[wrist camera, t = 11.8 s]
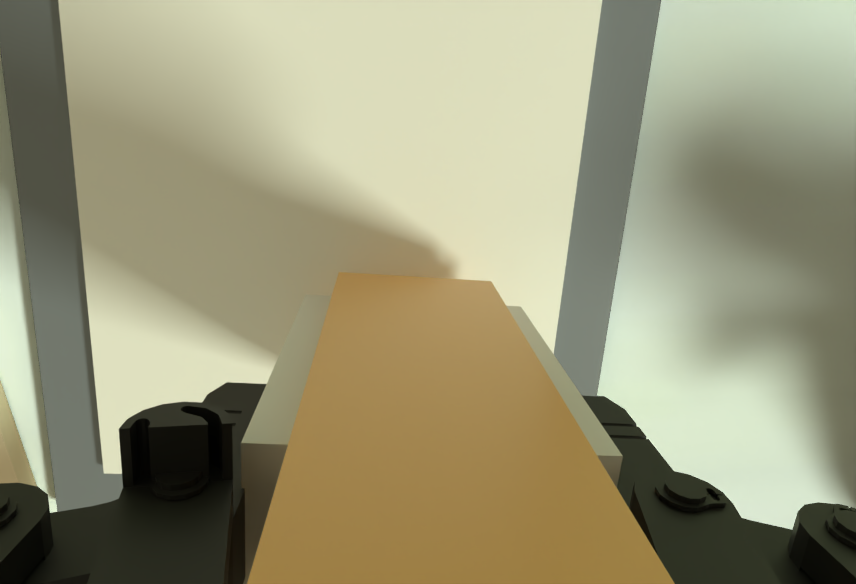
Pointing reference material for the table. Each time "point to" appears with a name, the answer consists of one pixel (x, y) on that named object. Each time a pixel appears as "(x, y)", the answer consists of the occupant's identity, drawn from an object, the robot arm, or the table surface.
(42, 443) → the table surface
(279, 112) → the grey framed cream board
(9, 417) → the word card
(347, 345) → the tan grey knobbed box
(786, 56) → the table surface
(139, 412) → the robot arm
